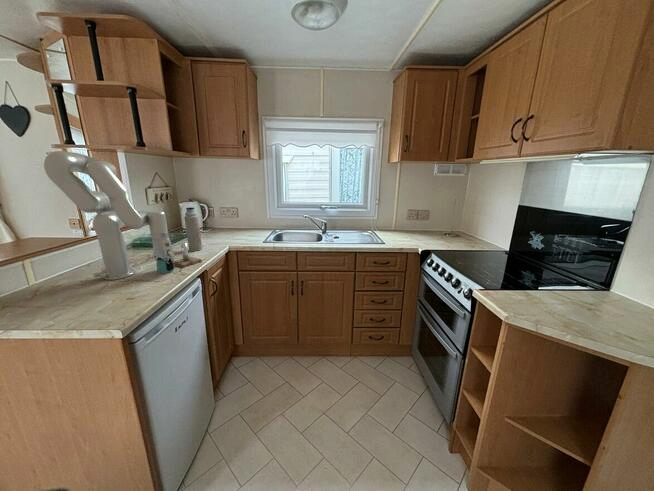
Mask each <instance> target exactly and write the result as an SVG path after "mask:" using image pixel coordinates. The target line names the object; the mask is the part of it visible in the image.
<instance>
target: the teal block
mask: <svg viewBox="0 0 654 491" xmlns="http://www.w3.org/2000/svg"><path fill="white" fill-rule="evenodd" d="M168 260H169V259H168ZM155 261H156V260H155ZM155 264H156V268H157V269H156V270H157V273H158V274H168V273H171V272H173V271H174V269H175V268H174V269H173V270H170V271H167V267H166V264H167V262H166V260H165V259H163V258H162V259H159V260H157V261H156V262H155Z"/></svg>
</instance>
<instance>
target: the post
mask: <svg viewBox="0 0 654 491" xmlns="http://www.w3.org/2000/svg"><path fill="white" fill-rule="evenodd" d="M180 248H181V254H182V259H183V261H189V257H190V256H189V255H190V254H189V246H188V242H182V243H180Z"/></svg>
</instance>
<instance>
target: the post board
mask: <svg viewBox="0 0 654 491" xmlns="http://www.w3.org/2000/svg"><path fill="white" fill-rule="evenodd" d="M199 263H202V259H201V258H197V257H192V256H189V261H183V258H180V259H176V260H173V266H177V267H180V268H183V269H184V268H186V267H190V266H193V265H197V264H199Z"/></svg>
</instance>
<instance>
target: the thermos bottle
mask: <svg viewBox="0 0 654 491" xmlns="http://www.w3.org/2000/svg"><path fill="white" fill-rule="evenodd" d="M185 211H186V212H185V213H184V215H185V216H184V224H185V230H186V231H185V232H186V239H187V247H188V252H199V251H202V250H203V244H202V237H201V229H200V220H199V215H198V214H197V212H196V210H195V207H185Z"/></svg>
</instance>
